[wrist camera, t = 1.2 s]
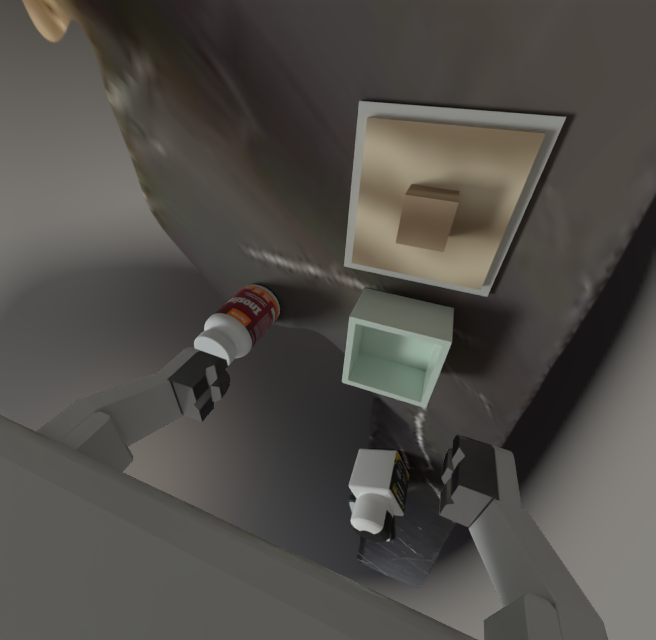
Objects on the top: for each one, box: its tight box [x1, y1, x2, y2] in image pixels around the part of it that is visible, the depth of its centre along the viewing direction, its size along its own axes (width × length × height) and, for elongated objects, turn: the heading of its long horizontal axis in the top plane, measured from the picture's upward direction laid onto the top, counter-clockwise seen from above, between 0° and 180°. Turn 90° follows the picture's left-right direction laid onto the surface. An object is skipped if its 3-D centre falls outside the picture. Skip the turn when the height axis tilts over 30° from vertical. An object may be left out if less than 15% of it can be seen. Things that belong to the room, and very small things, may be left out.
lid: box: [352, 117, 546, 290], centre depth 26 cm, size 13×13×4 cm
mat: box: [344, 101, 566, 297], centre depth 28 cm, size 15×15×1 cm
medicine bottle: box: [349, 449, 409, 542], centre depth 50 cm, size 7×7×12 cm
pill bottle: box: [194, 285, 280, 365], centre depth 38 cm, size 6×6×11 cm
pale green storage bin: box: [342, 288, 454, 408], centre depth 35 cm, size 10×10×6 cm
